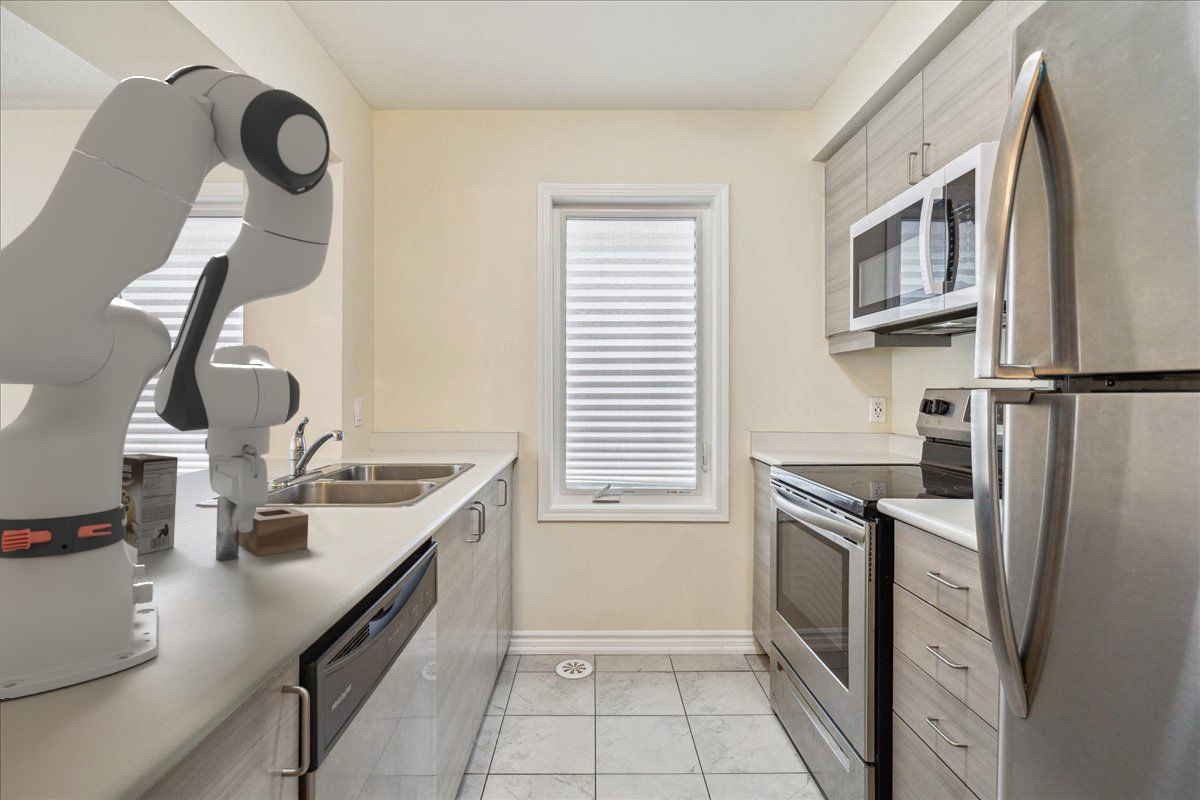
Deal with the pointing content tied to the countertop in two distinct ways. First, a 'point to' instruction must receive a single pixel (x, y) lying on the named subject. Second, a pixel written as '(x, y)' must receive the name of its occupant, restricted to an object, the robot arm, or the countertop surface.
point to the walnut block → (276, 531)
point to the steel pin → (227, 530)
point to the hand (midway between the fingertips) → (236, 526)
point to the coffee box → (149, 501)
